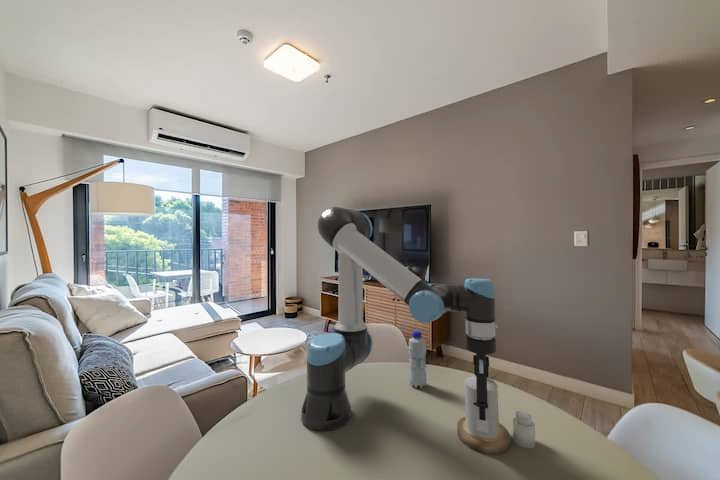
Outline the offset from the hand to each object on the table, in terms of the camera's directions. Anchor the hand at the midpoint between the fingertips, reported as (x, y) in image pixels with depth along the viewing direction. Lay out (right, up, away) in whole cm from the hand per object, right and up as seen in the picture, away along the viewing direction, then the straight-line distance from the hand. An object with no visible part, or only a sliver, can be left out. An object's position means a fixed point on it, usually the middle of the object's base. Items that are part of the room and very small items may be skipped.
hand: (482, 420), depth 77 cm
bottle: (-11, -6, +29) cm, 32 cm away
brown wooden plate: (0, -5, 0) cm, 5 cm away
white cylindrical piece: (0, -2, 0) cm, 2 cm away
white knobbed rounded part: (+10, -4, -2) cm, 11 cm away
